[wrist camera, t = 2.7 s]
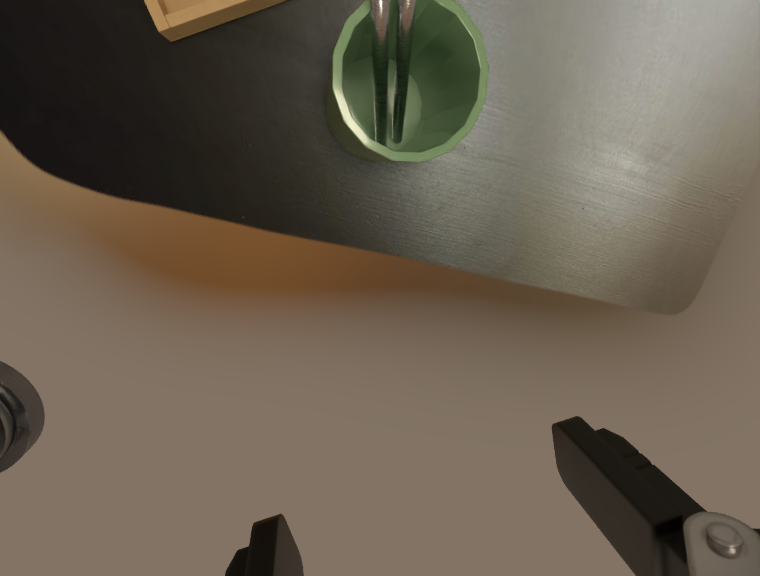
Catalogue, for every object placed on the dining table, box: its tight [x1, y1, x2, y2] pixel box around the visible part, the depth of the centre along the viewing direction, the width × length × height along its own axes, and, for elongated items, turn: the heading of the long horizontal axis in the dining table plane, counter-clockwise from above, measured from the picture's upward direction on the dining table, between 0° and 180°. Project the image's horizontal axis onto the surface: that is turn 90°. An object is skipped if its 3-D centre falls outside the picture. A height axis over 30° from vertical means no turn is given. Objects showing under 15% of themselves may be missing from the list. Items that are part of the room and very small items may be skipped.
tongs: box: [370, 0, 417, 146], centre depth 24 cm, size 2×9×18 cm, turn 19°
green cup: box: [325, 0, 489, 162], centre depth 27 cm, size 8×8×13 cm
